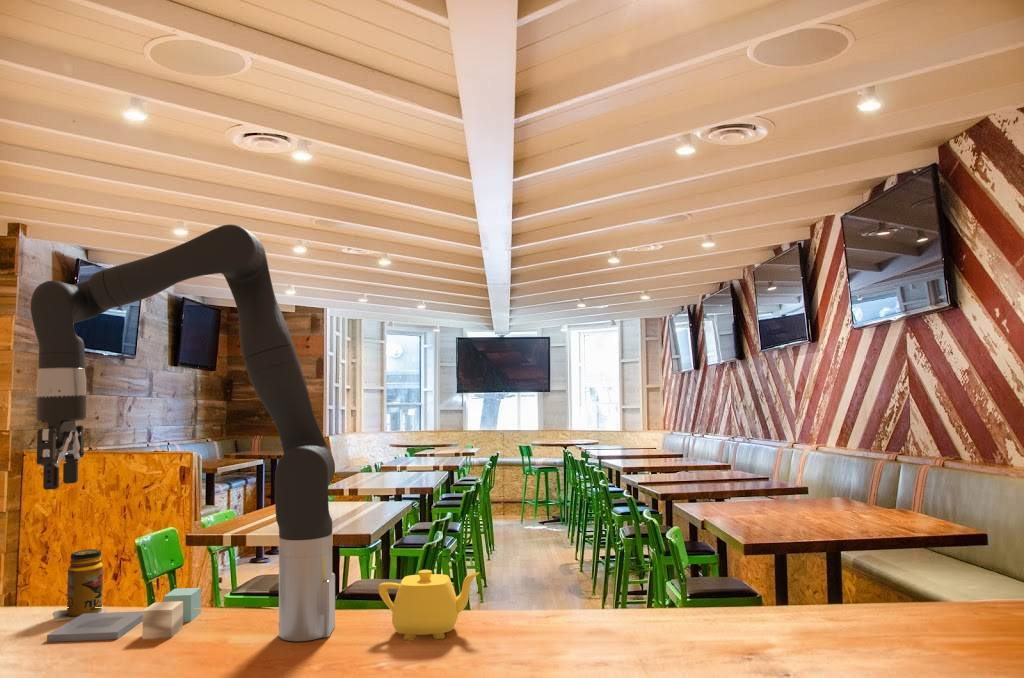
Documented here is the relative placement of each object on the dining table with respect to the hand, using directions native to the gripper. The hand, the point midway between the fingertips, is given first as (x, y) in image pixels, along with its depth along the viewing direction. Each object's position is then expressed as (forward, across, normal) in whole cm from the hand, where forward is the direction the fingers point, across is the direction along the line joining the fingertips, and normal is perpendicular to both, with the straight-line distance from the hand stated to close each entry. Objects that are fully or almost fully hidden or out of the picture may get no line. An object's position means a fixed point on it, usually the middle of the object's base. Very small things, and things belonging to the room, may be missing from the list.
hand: (61, 486), depth 127 cm
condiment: (+27, +18, +3) cm, 33 cm away
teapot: (+28, -12, -63) cm, 70 cm away
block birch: (+28, +1, -16) cm, 32 cm away
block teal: (+28, +10, -18) cm, 34 cm away
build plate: (+27, +7, -4) cm, 28 cm away
